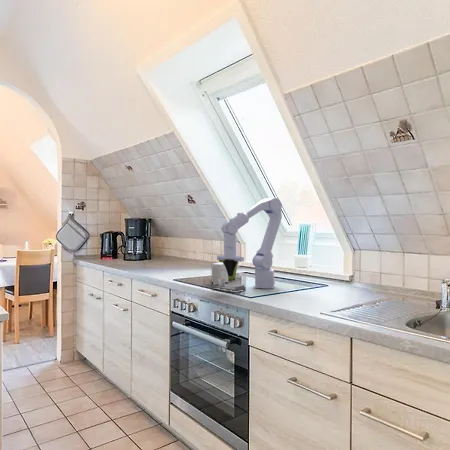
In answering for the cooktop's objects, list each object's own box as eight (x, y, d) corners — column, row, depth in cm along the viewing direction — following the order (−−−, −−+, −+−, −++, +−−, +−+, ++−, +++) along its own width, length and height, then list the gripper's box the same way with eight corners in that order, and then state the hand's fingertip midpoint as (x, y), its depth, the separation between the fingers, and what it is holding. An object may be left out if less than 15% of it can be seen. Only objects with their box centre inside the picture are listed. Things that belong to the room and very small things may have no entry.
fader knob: (225, 285, 200) (224, 277, 200) (221, 286, 198) (221, 278, 198) (221, 284, 202) (221, 277, 201) (217, 285, 199) (217, 278, 199)
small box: (219, 281, 221) (219, 262, 221) (228, 282, 218) (228, 262, 218) (211, 284, 214) (211, 263, 214) (220, 285, 212) (220, 264, 211)
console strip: (245, 290, 196) (245, 284, 196) (235, 292, 190) (235, 287, 190) (222, 287, 205) (222, 281, 205) (211, 289, 198) (211, 284, 198)
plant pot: (243, 278, 231) (243, 258, 231) (232, 281, 222) (231, 260, 221) (225, 276, 238) (225, 257, 238) (213, 279, 228) (213, 259, 228)
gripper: (212, 247, 197) (213, 275, 198) (237, 248, 188) (237, 278, 189) (221, 246, 203) (222, 273, 203) (246, 247, 194) (246, 276, 194)
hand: (230, 275), depth 197 cm, fingers closed
